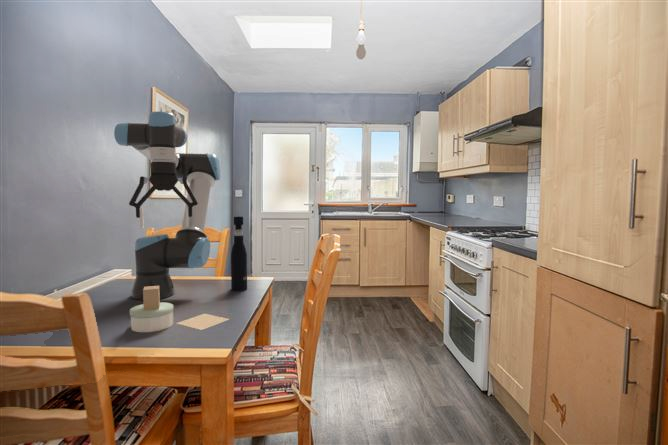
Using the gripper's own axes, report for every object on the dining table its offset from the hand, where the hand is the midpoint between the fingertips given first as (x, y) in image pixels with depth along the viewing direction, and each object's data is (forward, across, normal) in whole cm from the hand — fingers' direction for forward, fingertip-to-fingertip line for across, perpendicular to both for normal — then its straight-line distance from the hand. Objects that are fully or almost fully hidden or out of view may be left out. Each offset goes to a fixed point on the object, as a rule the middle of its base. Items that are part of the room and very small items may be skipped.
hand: (165, 227), depth 127 cm
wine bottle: (+29, +26, +24) cm, 46 cm away
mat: (+28, +11, -16) cm, 34 cm away
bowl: (+28, -4, -15) cm, 32 cm away
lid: (+23, -4, -15) cm, 28 cm away
